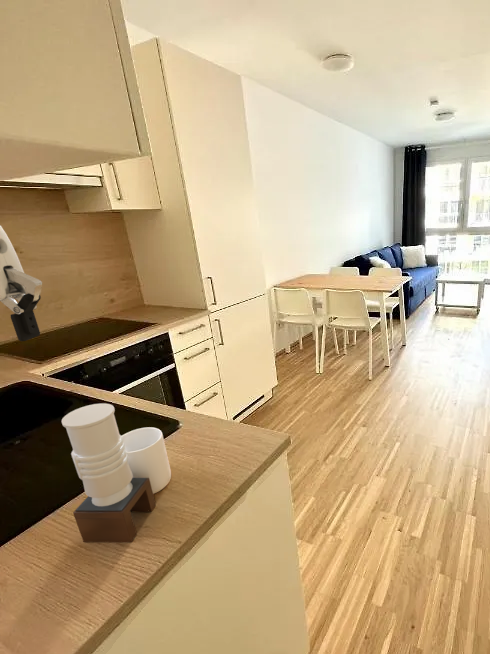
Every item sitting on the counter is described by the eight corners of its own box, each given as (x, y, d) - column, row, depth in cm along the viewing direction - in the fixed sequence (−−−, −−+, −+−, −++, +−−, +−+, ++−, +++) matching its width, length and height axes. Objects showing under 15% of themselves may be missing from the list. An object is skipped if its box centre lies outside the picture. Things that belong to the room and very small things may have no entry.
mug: (142, 460, 78) (131, 419, 74) (182, 456, 79) (173, 415, 75) (118, 501, 67) (104, 454, 63) (164, 496, 68) (153, 450, 64)
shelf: (83, 542, 58) (72, 511, 56) (113, 505, 66) (104, 476, 64) (131, 542, 58) (122, 511, 56) (156, 505, 66) (148, 476, 63)
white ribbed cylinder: (81, 495, 59) (54, 416, 54) (126, 473, 64) (105, 399, 59) (96, 515, 55) (68, 432, 50) (142, 490, 60) (121, 412, 55)
